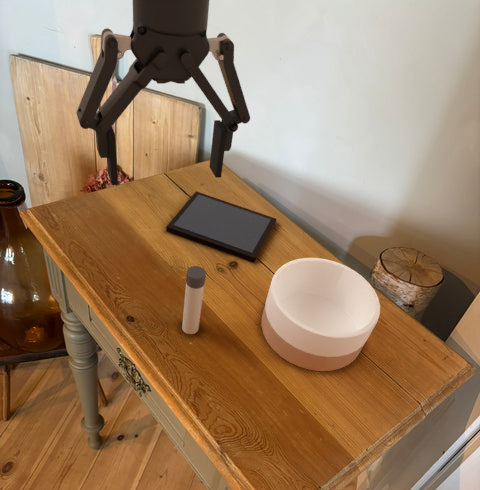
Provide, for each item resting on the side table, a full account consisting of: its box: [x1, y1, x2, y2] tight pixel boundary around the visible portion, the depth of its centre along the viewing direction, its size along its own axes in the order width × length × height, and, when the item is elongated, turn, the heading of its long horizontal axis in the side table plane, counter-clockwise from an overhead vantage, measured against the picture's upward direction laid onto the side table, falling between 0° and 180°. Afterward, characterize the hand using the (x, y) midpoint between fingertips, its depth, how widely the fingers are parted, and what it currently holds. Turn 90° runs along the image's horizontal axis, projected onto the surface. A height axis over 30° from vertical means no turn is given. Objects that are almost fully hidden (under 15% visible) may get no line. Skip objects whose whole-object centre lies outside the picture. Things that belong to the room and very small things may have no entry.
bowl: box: [260, 257, 381, 372], centre depth 74 cm, size 17×17×8 cm
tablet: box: [165, 190, 277, 264], centre depth 91 cm, size 18×14×1 cm
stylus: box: [181, 265, 207, 335], centre depth 68 cm, size 3×3×12 cm
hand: (165, 175), depth 60 cm, fingers open, 13 cm apart
